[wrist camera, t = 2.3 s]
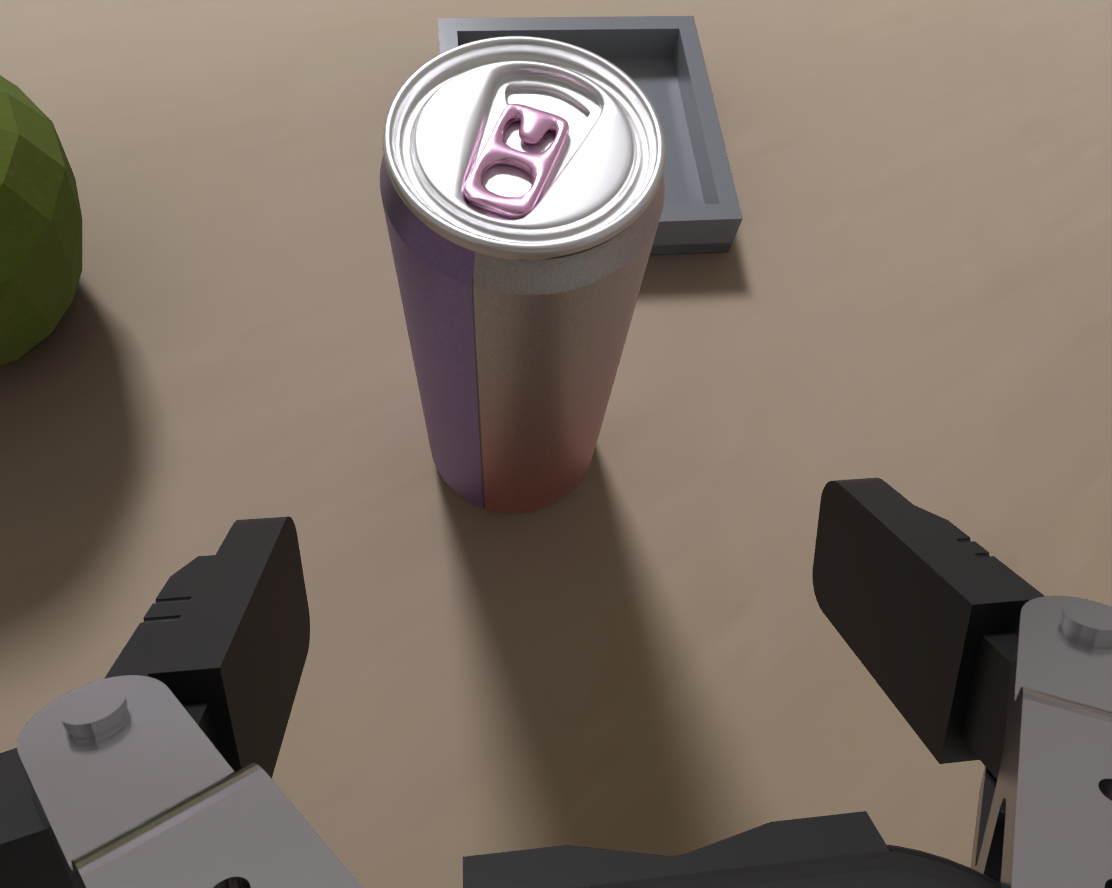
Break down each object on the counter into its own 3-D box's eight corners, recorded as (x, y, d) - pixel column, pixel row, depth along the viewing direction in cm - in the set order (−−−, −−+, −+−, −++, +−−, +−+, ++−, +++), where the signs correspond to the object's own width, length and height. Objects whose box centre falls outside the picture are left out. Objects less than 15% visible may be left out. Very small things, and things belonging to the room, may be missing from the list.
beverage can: (405, 487, 28) (317, 198, 15) (467, 352, 31) (442, -4, 17) (562, 543, 28) (626, 299, 14) (612, 401, 30) (709, 76, 16)
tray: (453, 262, 32) (450, 229, 30) (441, 58, 37) (437, 18, 35) (728, 251, 33) (742, 218, 32) (683, 55, 38) (693, 16, 36)
